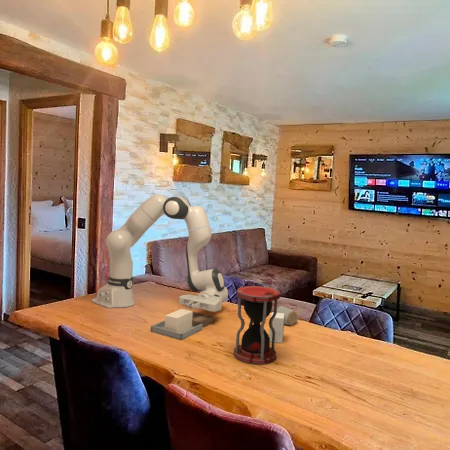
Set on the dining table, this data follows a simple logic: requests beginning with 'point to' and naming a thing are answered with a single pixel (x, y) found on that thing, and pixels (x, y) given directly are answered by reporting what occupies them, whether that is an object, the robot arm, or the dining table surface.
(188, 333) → the gray tray
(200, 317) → the brown flat block
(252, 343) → the hourglass
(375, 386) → the dining table surface
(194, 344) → the dining table surface
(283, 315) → the small box
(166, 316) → the cream block
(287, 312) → the ceramic mug
